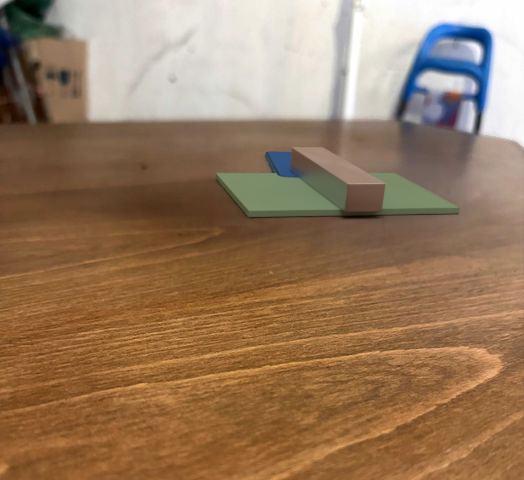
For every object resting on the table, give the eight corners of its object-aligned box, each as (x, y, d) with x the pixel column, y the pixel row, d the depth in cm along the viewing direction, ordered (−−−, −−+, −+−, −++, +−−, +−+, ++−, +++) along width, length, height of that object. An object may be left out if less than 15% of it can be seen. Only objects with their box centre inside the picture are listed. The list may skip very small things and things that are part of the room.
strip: (289, 170, 71) (291, 146, 70) (320, 170, 72) (323, 147, 71) (344, 212, 57) (348, 183, 56) (382, 211, 58) (386, 183, 57)
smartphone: (323, 153, 82) (348, 179, 69) (322, 161, 83) (347, 188, 69) (264, 150, 81) (277, 176, 68) (263, 159, 82) (277, 186, 68)
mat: (394, 178, 73) (394, 172, 73) (458, 213, 61) (459, 207, 61) (215, 178, 68) (215, 172, 68) (248, 217, 56) (248, 210, 56)
